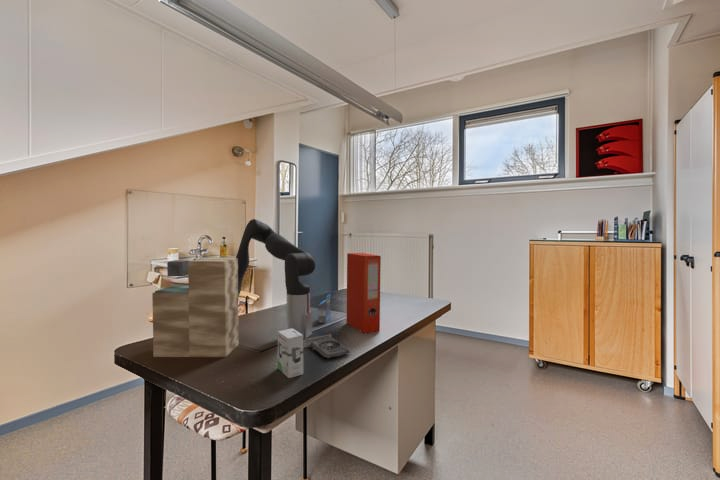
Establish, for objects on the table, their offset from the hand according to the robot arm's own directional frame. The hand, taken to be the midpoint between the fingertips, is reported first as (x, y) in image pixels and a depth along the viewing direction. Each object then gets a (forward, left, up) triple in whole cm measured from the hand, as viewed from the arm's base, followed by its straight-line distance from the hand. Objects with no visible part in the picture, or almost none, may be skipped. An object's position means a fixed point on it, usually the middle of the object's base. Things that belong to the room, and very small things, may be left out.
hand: (198, 261), depth 128 cm
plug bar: (-1, +5, -4) cm, 7 cm away
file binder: (-58, -31, -30) cm, 73 cm away
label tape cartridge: (-38, -37, -30) cm, 61 cm away
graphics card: (-53, 0, -31) cm, 61 cm away
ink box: (-48, +18, -30) cm, 60 cm away
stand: (-9, +11, -30) cm, 34 cm away
